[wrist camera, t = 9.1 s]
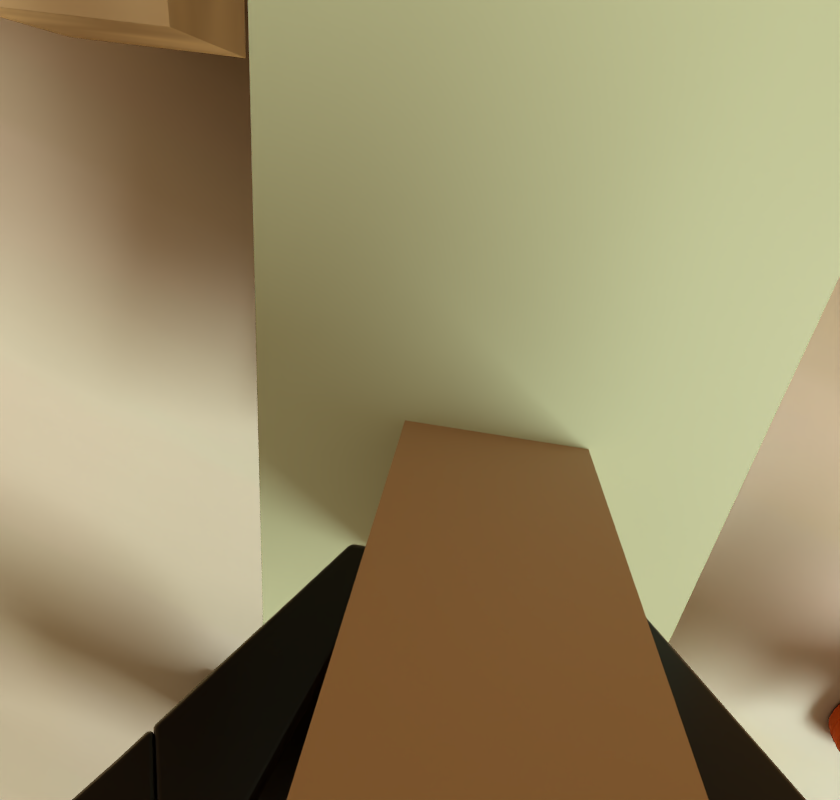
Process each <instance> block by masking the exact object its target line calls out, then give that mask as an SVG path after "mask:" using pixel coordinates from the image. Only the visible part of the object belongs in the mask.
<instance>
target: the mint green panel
mask: <svg viewBox="0 0 840 800" xmlns="http://www.w3.org/2000/svg"><path fill="white" fill-rule="evenodd" d="M248 30H249V71H250V112H251V152H252V193H253V234H254V275H255V316H256V357H257V398H258V439H259V479H260V520H261V561H262V602H263V625H264V624H265V623H266V622H267V621H268V620H269V619H270V618H271V617H272V616H273V615H275V614H276V613H277V612H278V611H279V610H280V609H281V608H282V607H283V606H284V605H285V604H286V603H287V602H289V601H290V600H291V599H292V598H293V597H294V596H295V595H296V594H297V593H298V592H299V591H300V590H302V589H303V588H304V587H305V586H306V585H307V584H308V583H309V582H310V581H311V580H312V579H313V578H314V577H316V576H317V575H318V574H319V573H320V572H321V571H322V570H323V569H324V568H325V567H326V566H327V565H329V564H330V563H331V562H332V561H333V560H334V559H335V558H336V557H337V556H338V555H339V554H340V553H341V552H343V551H344V550H345V549H346V548H347V547H348V546H350V545H352V544H356V545H362V546H366V547H365V550H364V553H363V557H362V560H361V563H360V566H359V569H358V573H357V576H356V579H355V582H354V585H353V589H352V592H351V595H350V598H349V601H348V605H347V608H346V611H345V614H344V617H343V621H342V624H341V627H340V630H339V633H338V637H337V640H336V643H335V646H334V649H333V653H332V656H331V659H330V662H329V665H328V669H327V672H326V675H325V678H324V682H323V685H322V688H321V691H320V694H319V698H318V701H317V704H316V707H315V710H314V714H313V717H312V720H311V723H310V726H309V730H308V733H307V736H306V739H305V742H304V746H303V749H302V752H301V755H300V758H299V762H298V765H297V768H296V771H295V774H294V778H293V781H292V784H291V787H290V791H289V794H288V797H287V800H709V799H708V796H707V794H706V791H705V788H704V785H703V782H702V779H701V776H700V773H699V770H698V767H697V764H696V761H695V759H694V756H693V753H692V750H691V747H690V744H689V741H688V738H687V735H686V732H685V729H684V726H683V724H682V721H681V718H680V715H679V712H678V709H677V706H676V703H675V700H674V697H673V694H672V691H671V689H670V686H669V683H668V680H667V677H666V674H665V671H664V668H663V665H662V662H661V659H660V656H659V653H658V651H657V648H656V645H655V642H654V639H653V636H652V633H651V630H650V627H649V624H648V621H647V619H648V620H649V621H650V622H651V623H652V625H653V626H654V627H655V628H656V629H657V630H658V631H659V633H660V634H661V635H662V636H663V637H664V638H665V639H666V641H667V642H668V643H669V641H670V639H671V637H672V634H673V632H674V630H675V628H676V626H677V624H678V622H679V619H680V617H681V615H682V613H683V611H684V609H685V607H686V604H687V602H688V600H689V598H690V596H691V594H692V592H693V589H694V587H695V585H696V583H697V581H698V579H699V577H700V574H701V572H702V570H703V568H704V566H705V564H706V562H707V559H708V557H709V555H710V553H711V551H712V549H713V547H714V544H715V542H716V540H717V538H718V536H719V534H720V532H721V529H722V527H723V525H724V523H725V521H726V519H727V517H728V514H729V512H730V510H731V508H732V506H733V504H734V502H735V499H736V497H737V495H738V493H739V491H740V489H741V487H742V484H743V482H744V480H745V478H746V476H747V474H748V472H749V469H750V467H751V465H752V463H753V461H754V459H755V457H756V454H757V452H758V450H759V448H760V446H761V444H762V442H763V439H764V437H765V435H766V433H767V431H768V429H769V427H770V424H771V422H772V420H773V418H774V416H775V414H776V412H777V409H778V407H779V405H780V403H781V401H782V399H783V397H784V394H785V392H786V390H787V388H788V386H789V384H790V382H791V379H792V377H793V375H794V373H795V371H796V369H797V367H798V364H799V362H800V360H801V358H802V356H803V354H804V352H805V350H806V347H807V345H808V343H809V341H810V339H811V337H812V335H813V332H814V330H815V328H816V326H817V324H818V322H819V320H820V317H821V315H822V313H823V311H824V309H825V307H826V305H827V302H828V300H829V298H830V296H831V294H832V292H833V290H834V287H835V285H836V283H837V281H838V279H839V277H840V0H248Z"/></svg>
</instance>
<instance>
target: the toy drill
mask: <svg viewBox="0 0 840 800" xmlns="http://www.w3.org/2000/svg"><path fill="white" fill-rule="evenodd" d="M828 725H829V729H830V733H831V736H832V738H833V741H834V742H835V744H836V747H837V749H838V750H839V751H840V704H839V705H838V706H837V707H836V708H835V709H834V711H833V712H832V714H831V716H830V717H829V723H828Z"/></svg>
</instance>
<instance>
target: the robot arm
mask: <svg viewBox="0 0 840 800" xmlns="http://www.w3.org/2000/svg"><path fill="white" fill-rule="evenodd" d="M365 547H366V546H362V545H356V544H352V545H350V546H348V547H347V548H346V549H345V550H344V551H343V552H341V553H340V554H339V555H338V556H337V557H336V558H335V559H334V560H333V561H332V562H331V563H330V564H329V565H327V566H326V567H325V568H324V569H323V570H322V571H321V572H320V573H319V574H318V575H317V576H316V577H314V578H313V579H312V580H311V581H310V582H309V583H308V584H307V585H306V586H305V587H304V588H303V589H302V590H300V591H299V592H298V593H297V594H296V595H295V596H294V597H293V598H292V599H291V600H290V601H289V602H287V603H286V604H285V605H284V606H283V607H282V608H281V609H280V610H279V611H278V612H277V613H276V614H275V615H273V616H272V617H271V618H270V619H269V620H268V621H267V622H266V623H265V624H264V625H263V626H262V627H260V628H259V629H258V630H257V631H256V632H255V633H254V634H253V635H252V636H251V637H250V638H249V639H248V640H246V641H245V642H244V643H243V644H242V645H241V646H240V647H239V648H238V649H237V650H236V651H235V652H233V653H232V654H231V655H230V656H229V657H228V658H227V659H226V660H225V661H224V662H223V663H222V664H220V665H219V666H218V667H217V668H216V669H215V670H214V671H213V672H212V673H211V674H210V675H209V676H208V677H206V678H205V679H204V680H203V681H202V682H201V683H200V684H199V685H198V686H197V687H196V688H195V689H193V690H192V691H191V692H190V693H189V694H188V695H187V696H186V697H185V698H184V699H183V700H182V701H181V702H179V703H178V704H177V705H176V706H175V707H174V708H173V709H172V710H171V711H170V712H169V713H168V714H166V715H165V716H164V717H163V718H162V719H161V720H160V721H159V722H158V723H157V724H156V725H155V726H154V733H153V732H151V731H148V732H147V733H145V734H144V735H143V736H142V737H141V738H140V739H139V740H138V741H137V742H136V743H135V744H134V745H133V746H131V747H130V748H129V749H128V750H127V751H126V752H125V753H124V754H123V755H122V756H121V757H120V758H119V759H117V760H116V761H115V762H114V763H113V764H112V765H111V766H110V767H109V768H107V769H106V770H105V771H104V772H103V773H102V774H101V775H99V776H98V777H97V778H96V779H95V780H94V781H93V782H92V783H90V784H89V785H88V786H87V787H86V788H85V789H84V790H83V791H81V792H80V793H79V794H78V795H77V796H76V797H75V798H74V799H72V800H287V797H288V794H289V791H290V787H291V784H292V781H293V778H294V774H295V771H296V768H297V765H298V762H299V758H300V755H301V752H302V749H303V746H304V742H305V739H306V736H307V733H308V730H309V726H310V723H311V720H312V717H313V714H314V710H315V707H316V704H317V701H318V698H319V694H320V691H321V688H322V685H323V682H324V678H325V675H326V672H327V669H328V665H329V662H330V659H331V656H332V653H333V649H334V646H335V643H336V640H337V637H338V633H339V630H340V627H341V624H342V621H343V617H344V614H345V611H346V608H347V605H348V601H349V598H350V595H351V592H352V589H353V585H354V582H355V579H356V576H357V573H358V569H359V566H360V563H361V560H362V557H363V553H364V550H365ZM647 621H648V624H649V627H650V630H651V633H652V636H653V639H654V642H655V645H656V648H657V651H658V653H659V656H660V659H661V662H662V665H663V668H664V671H665V674H666V677H667V680H668V683H669V686H670V689H671V691H672V694H673V697H674V700H675V703H676V706H677V709H678V712H679V715H680V718H681V721H682V724H683V726H684V729H685V732H686V735H687V738H688V741H689V744H690V747H691V750H692V753H693V756H694V759H695V761H696V764H697V767H698V770H699V773H700V776H701V779H702V782H703V785H704V788H705V791H706V794H707V796H708V799H709V800H806V799H805V798H804V797H803V796H802V795H801V794H800V792H799V791H798V790H797V789H796V788H795V787H794V786H793V784H792V783H791V782H790V781H789V780H788V779H787V778H786V776H785V775H784V774H783V773H782V772H781V771H780V770H779V768H778V767H777V766H776V765H775V764H774V763H773V762H772V760H771V759H770V758H769V757H768V756H767V755H766V754H765V752H764V751H763V750H762V749H761V748H760V747H759V746H758V744H757V743H756V742H755V741H754V740H753V739H752V738H751V736H750V735H749V734H748V733H747V732H746V731H745V730H744V728H743V727H742V726H741V725H740V724H739V723H738V722H737V721H736V719H735V718H734V717H733V716H732V715H731V714H730V713H729V711H728V710H727V709H726V708H725V707H724V706H723V705H722V703H721V702H720V701H719V700H718V699H717V698H716V697H715V695H714V694H713V693H712V692H711V691H710V690H709V689H708V687H707V686H706V685H705V684H704V683H703V682H702V681H701V679H700V678H699V677H698V676H697V675H696V674H695V673H694V671H693V670H692V669H691V668H690V667H689V666H688V665H687V663H686V662H685V661H684V660H683V659H682V658H681V657H680V655H679V654H678V653H677V652H676V651H675V650H674V649H673V647H672V646H671V645H670V644H669V643H668V642H667V641H666V639H665V638H664V637H663V636H662V635H661V634H660V633H659V631H658V630H657V629H656V628H655V627H654V626H653V625H652V623H651V622H650V621H649V620H648V619H647Z"/></svg>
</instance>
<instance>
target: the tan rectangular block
mask: <svg viewBox="0 0 840 800" xmlns="http://www.w3.org/2000/svg"><path fill="white" fill-rule="evenodd" d="M0 17H2V18H5V19H9V20H12V21H16V22H19V23H23V24H26V25H30V26H33V27H37V28H40V29H43V30H47V31H50V32H54V33H57V34H61V35H64V36H68V37H73V38H81V39H90V40H98V41H106V42H115V43H123V44H132V45H140V46H148V47H157V48H165V49H173V50H182V51H190V52H198V53H207V54H215V55H224V56H232V57H240V58H246V43H245V5H244V0H0Z"/></svg>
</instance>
